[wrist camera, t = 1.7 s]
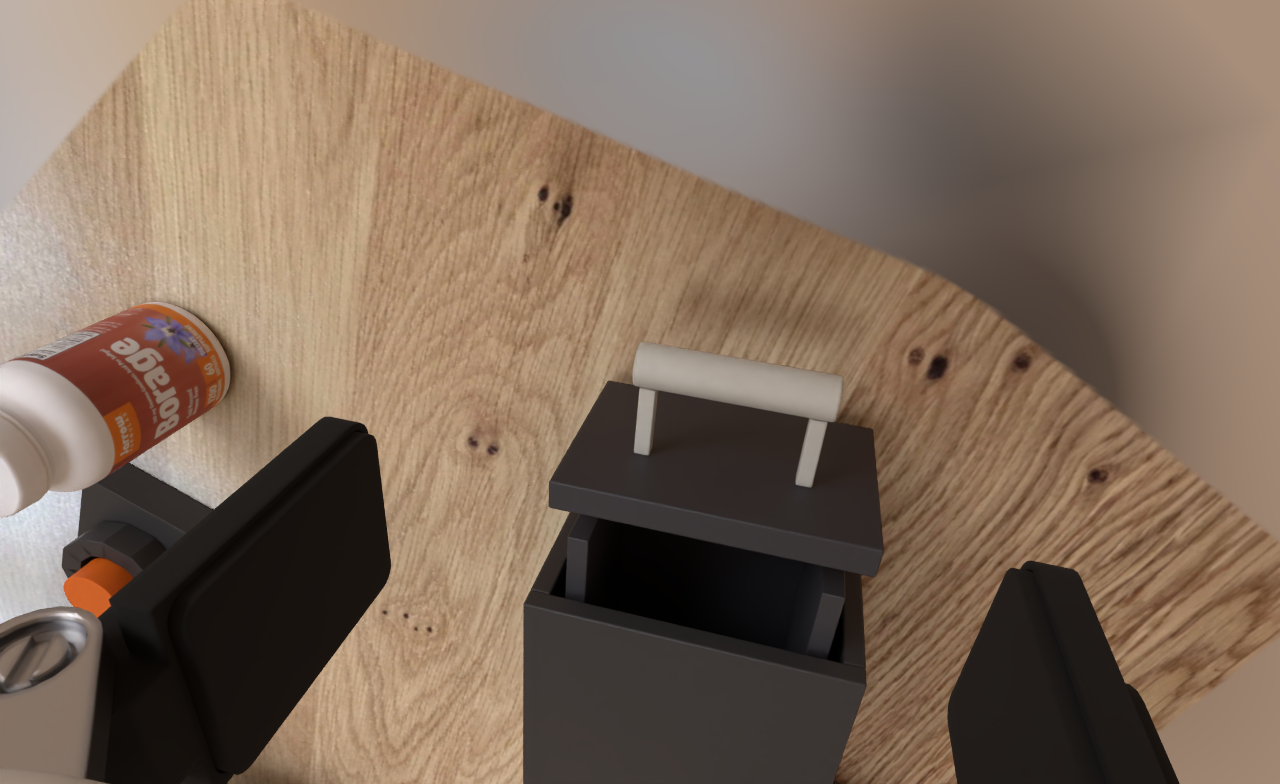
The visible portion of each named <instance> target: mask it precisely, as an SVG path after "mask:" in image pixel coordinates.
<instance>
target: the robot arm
mask: <svg viewBox="0 0 1280 784" xmlns="http://www.w3.org/2000/svg"><path fill="white" fill-rule="evenodd" d="M390 569H391V559H390V551H389V542H388V534H387V526H386V517H385V509H384V500H383V492H382V484H381V475H380V467H379V458H378V450H377V443H376V439H375V438H374V436H372V435H370V434H368V430H367V428H366V427H365V425H363V424H361V423H358V422H353V421H348V420H344V419H339V418H334V417H324V418H322V419H320V420H319V421H318V422H317V423H315V424H314V425H313V426H312V427H311V428H309V429H308V430H307V431H306V432H305V433H304V434H302V435H301V436H300V437H299V438H298V439H297V440H295V441H294V442H293V443H292V444H291V445H289V446H288V447H287V448H286V449H285V450H284V451H282V452H281V453H280V454H279V455H278V456H277V457H275V458H274V459H273V460H272V461H271V462H270V463H268V464H267V465H266V466H265V467H264V468H262V469H261V470H260V471H259V472H258V473H257V474H255V475H254V476H253V477H252V478H251V479H250V480H248V481H247V482H246V483H245V484H244V485H243V486H241V487H240V488H239V489H238V490H237V491H235V492H234V493H233V494H232V495H231V496H230V497H228V498H227V499H226V500H225V501H224V502H223V503H221V504H220V505H219V506H218V507H217V508H215V509H214V510H213V511H212V512H211V513H210V514H208V515H207V516H206V517H205V518H204V519H203V520H201V521H200V522H199V523H198V524H197V525H196V526H194V527H193V528H192V529H191V530H190V531H188V532H187V533H186V534H185V535H184V536H183V537H181V538H180V539H179V540H178V541H177V542H176V543H174V544H173V545H172V546H171V547H170V548H168V549H167V550H166V551H165V552H164V553H163V554H161V555H160V556H159V557H158V558H157V559H156V560H154V561H153V562H152V563H151V564H150V565H149V566H147V567H146V568H145V569H144V570H143V571H141V572H140V573H139V574H138V575H137V576H136V577H134V578H133V579H132V580H131V581H130V582H129V583H127V584H126V585H125V586H124V587H123V588H122V589H120V590H119V591H118V592H117V593H116V594H114V595H113V596H112V597H111V598H110V599H109V602H110V605H111V606H110V607H109V608H108V609H107V610H106V611H105V612H103V613H102V614H101V615H100V616H99V617H98V618H97V617H96V616H95V615H94V614H93V613H92V612H90V611H87V610H84V609H81V608H79V607H61V606H60V607H53V608H46V609H40V610H36V611H33V612H30V613H27V614H23V615H20V616H17V617H15V618H12V619H10V620H8V621H6V622H4V623H2V624H0V784H227V783H228V781H229V780H230V779H231V777H232V776H233V775H234V774H236V775H239V774H242V773H243V772H245V771H246V770H247V769H248V768H249V767H250V766H251V765H252V764H253V762H254V761H255V760H256V758H257V757H258V756H259V754H260V753H261V752H262V750H263V749H264V748H265V746H266V745H267V744H268V742H269V741H270V740H271V738H272V737H273V735H274V734H275V733H276V731H277V730H278V729H279V727H280V726H281V725H282V723H283V722H284V721H285V719H286V718H287V717H288V715H289V714H290V713H291V711H292V710H293V709H294V707H295V706H296V705H297V703H298V702H299V700H300V699H301V698H302V696H303V695H304V694H305V692H306V691H307V690H308V688H309V687H310V686H311V684H312V683H313V682H314V680H315V679H316V678H317V676H318V675H319V674H320V672H321V671H322V670H323V668H324V667H325V665H326V664H327V663H328V661H329V660H330V659H331V657H332V656H333V655H334V653H335V652H336V651H337V649H338V648H339V647H340V645H341V644H342V643H343V641H344V640H345V639H346V637H347V636H348V634H349V633H350V632H351V630H352V629H353V628H354V626H355V625H356V624H357V622H358V621H359V620H360V618H361V617H362V616H363V614H364V613H365V612H366V610H367V609H368V608H369V606H370V605H371V604H372V602H373V601H374V599H375V598H376V597H377V595H378V594H379V593H380V591H381V590H382V589H383V587H384V586H385V584H386V582H387V580H388V577H389V574H390ZM948 727H949V733H950V740H951V746H952V752H953V759H954V765H955V771H956V778H957V784H1179V781H1178V779H1177V777H1176V774H1175V772H1174V770H1173V768H1172V765H1171V763H1170V761H1169V758H1168V756H1167V754H1166V751H1165V749H1164V747H1163V745H1162V743H1161V740H1160V738H1159V735H1158V733H1157V731H1156V728H1155V726H1154V724H1153V722H1152V719H1151V717H1150V715H1149V712H1148V710H1147V708H1146V705H1145V703H1144V701H1143V700H1142V698H1141V696H1140V695H1139V693H1138V691H1137V690H1136V689H1134V688H1133V687H1132V686H1131V685H1130V684H1126V683H1125V682H1124V679H1123V677H1122V675H1121V672H1120V670H1119V668H1118V665H1117V663H1116V660H1115V658H1114V656H1113V653H1112V651H1111V648H1110V646H1109V644H1108V641H1107V639H1106V637H1105V634H1104V632H1103V629H1102V627H1101V625H1100V622H1099V620H1098V618H1097V615H1096V613H1095V610H1094V608H1093V606H1092V603H1091V601H1090V599H1089V596H1088V594H1087V591H1086V589H1085V587H1084V584H1083V582H1082V579H1081V577H1080V576H1079V574H1078V572H1076V571H1075V570H1073V569H1069V568H1064V567H1059V566H1054V565H1049V564H1044V563H1040V562H1035V561H1027V562H1026V563H1024V564H1023V566H1022V567H1021V569H1015V568H1010V569H1009V570H1008V571H1007V572H1006V574H1005V576H1004V578H1003V580H1002V583H1001V585H1000V587H999V589H998V591H997V594H996V596H995V598H994V600H993V603H992V605H991V607H990V609H989V611H988V614H987V616H986V618H985V620H984V623H983V625H982V627H981V629H980V631H979V634H978V636H977V638H976V640H975V643H974V645H973V647H972V649H971V651H970V654H969V656H968V658H967V660H966V663H965V665H964V667H963V669H962V671H961V674H960V676H959V678H958V680H957V683H956V685H955V687H954V689H953V691H952V694H951V696H950V700H949V704H948Z"/></svg>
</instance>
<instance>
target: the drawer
mask: <svg viewBox="0 0 1280 784" xmlns="http://www.w3.org/2000/svg"><path fill="white" fill-rule="evenodd" d="M633 384H634V385H630V384H624V383H619V382H614V381H608V382H607V383H606V385H605V387H604V388H603V390H602V392H601V394H600V395H599V397H598V399H597V401H596V402H595V404H594V406H593V407H592V409H591V411H590V413H589V414H588V416H587V418H586V419H585V421H584V423H583V425H582V426H581V428H580V430H579V431H578V433H577V435H576V437H575V438H574V440H573V442H572V443H571V445H570V447H569V449H568V450H567V452H566V454H565V456H564V457H563V459H562V461H561V462H560V464H559V466H558V468H557V469H556V471H555V473H554V474H553V476H552V478H551V480H550V481H549V507H550V508H554V509H559V510H564V511H568V512H573V513H578V514H579V515H578V517H577V519H576V521H575V523H574V525H573V527H572V529H571V532H570V534H569V536H568V544H567V569H566V594H565V598H566V599H570V600H574V601H578V602H583V603H587V604H591V605H595V606H600V607H604V608H608V609H613V610H617V611H621V612H625V613H630V614H634V615H638V616H642V617H647V618H651V619H655V620H659V621H664V622H668V623H672V624H676V625H681V626H685V627H689V628H694V629H698V630H702V631H706V632H711V633H715V634H719V635H723V636H728V637H732V638H736V639H740V640H745V641H749V642H753V643H757V644H762V645H766V646H770V647H775V648H779V649H783V650H787V651H792V652H796V653H800V654H804V655H809V656H813V657H817V658H821V659H826V660H827V658H828V655H829V651H830V648H831V645H832V641H833V638H834V635H835V631H836V628H837V625H838V621H839V618H840V615H841V611H842V608H843V605H844V601H845V571H848V572H852V573H857V574H862V575H866V576H871V577H875V576H876V575H877V572H878V568H879V565H880V562H881V559H882V556H883V553H884V547H883V536H882V525H881V514H880V503H879V492H878V481H877V470H876V458H875V447H874V436H873V430H872V429H870V428H864V427H859V426H854V425H848V424H843V423H837V422H834V421H835V420H836V418H837V415H838V411H839V407H840V403H841V397H842V391H843V377H842V376H840V375H834V374H828V373H823V372H817V371H811V370H805V369H800V368H794V367H788V366H782V365H776V364H771V363H765V362H759V361H753V360H748V359H742V358H736V357H730V356H724V355H719V354H713V353H707V352H701V351H696V350H690V349H684V348H678V347H673V346H667V345H661V344H655V343H649V342H641V343H640V345H639V346H638V349H637V352H636V356H635V360H634V366H633Z"/></svg>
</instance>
